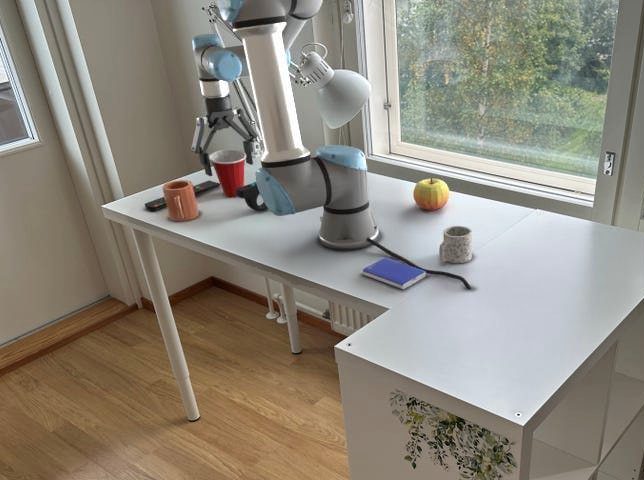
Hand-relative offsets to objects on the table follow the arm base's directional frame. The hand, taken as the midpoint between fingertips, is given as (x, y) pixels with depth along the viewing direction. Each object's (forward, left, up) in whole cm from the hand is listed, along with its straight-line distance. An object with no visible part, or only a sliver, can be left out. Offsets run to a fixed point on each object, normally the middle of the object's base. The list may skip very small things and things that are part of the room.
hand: (229, 169), depth 211 cm
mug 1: (-7, +20, -8) cm, 22 cm away
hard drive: (-77, +2, -8) cm, 78 cm away
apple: (-52, -33, -8) cm, 62 cm away
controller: (-18, +2, -8) cm, 20 cm away
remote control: (+8, +13, -8) cm, 17 cm away
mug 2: (-81, -13, -8) cm, 82 cm away
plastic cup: (0, 0, -8) cm, 8 cm away
